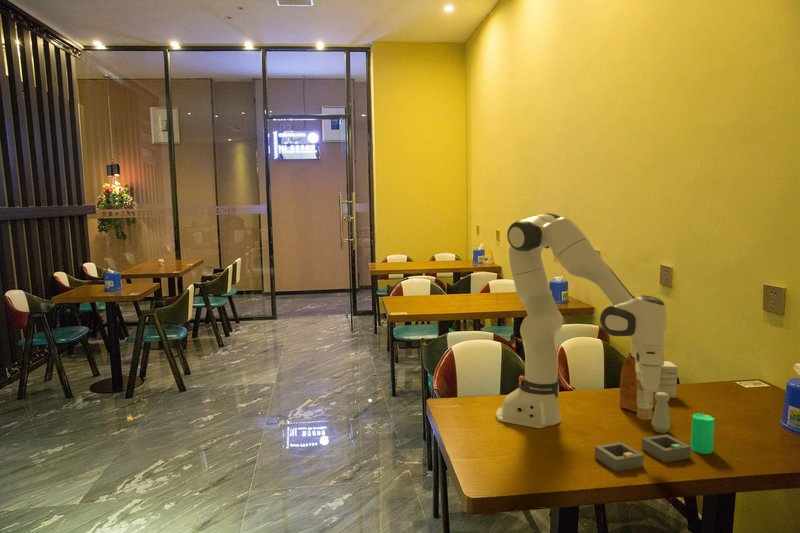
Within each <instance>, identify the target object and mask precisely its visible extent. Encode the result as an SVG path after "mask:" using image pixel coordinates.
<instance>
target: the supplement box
mask: <svg viewBox="0 0 800 533" xmlns="http://www.w3.org/2000/svg"><path fill="white" fill-rule="evenodd" d="M677 385H678V366H677V365H675V364H674V363H673V362H672V361H667V360H666V361H665V360H664V365H663V366H661V375H660V382H659V388H658V391H657V392H665V393H667V394H668V395H669V397H670V398H669V399H671V398H673V399H674V398H675V399H676V398H677Z"/></svg>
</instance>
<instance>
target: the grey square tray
mask: <svg viewBox="0 0 800 533" xmlns="http://www.w3.org/2000/svg"><path fill="white" fill-rule="evenodd" d="M641 450H642V451H644V452H645V453H646V454H649V455H651V456H653V457H654V458H656V459H658V460H659V461H661V462H663V463H671V462H674V461H675V462H676V461H681V460H685V459H687V460H688V459H691V453H692V452H691V450H692V449H691V445H689V444H688V443H685V442H684V441H681V440H679V439H678V438H675V437H673V436H671V435H670V434H666V433H664V434H660V435H656V436H655V435H654V436H649V437H648V436H646V437H642V438H641Z"/></svg>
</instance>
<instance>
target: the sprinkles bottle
mask: <svg viewBox="0 0 800 533" xmlns="http://www.w3.org/2000/svg"><path fill="white" fill-rule="evenodd" d="M653 409H654V408H653V392H651V395H650V401H644V400H643V388H642V385H641V383H640V373H639V372H638V373H637V412H636V417H637V418H638V419H641V420H652V418H653V415H654V410H653Z"/></svg>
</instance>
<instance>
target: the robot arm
mask: <svg viewBox="0 0 800 533" xmlns="http://www.w3.org/2000/svg"><path fill="white" fill-rule="evenodd" d="M506 235H507V236H506V238H507V241H508V243H509V246H510V247H509V249H508V256H509V257H508V259H509V265H510V272H511V275H512V278H513V282H514V287H515V290H516V291H515V292H516V294H517V297H518V299H519V300H520V301H521V303H522V305H523V307H524V309H525V311H526V314H527V315H526V316H525V317H524V318H523V320H522V322H521V324H520V328H519V333H520V336H521V338H522V345H523V351H524V358H525V360H524V362H525V363H524V365H525V366H524V369H525V370H524V375H519V377H518V388H516V389H515V390H513V391H512V392H510V393H509V394H507V395H506V396H505V397H504V400H503V402H502V406H500V407H499V408H497V410H496V412H495V417H496V420H498V421H499V422H503V423H508V424H513V425H519V426H525V427H529V428H530V427H531V428H537V429H542V428H545V427H550V426H551V427H552V426H555V425H558V424H559V423H561V422H562V417H561V413H560V408H559V399H558V397H559V394H560V383H559V380H558V369H559V368H558V366H559V357H558V355H557V351H556V343H555V342H556V336H557V335H558V334H559V333H560V332H561V330H562V327H563V321H564V318H563V315H562V312H561V311H560V310H559V307H558V305H557V303H556V300H555V299H554V296H553V294H552V291H551V289H550V285H549V282H548V278H547V274H546V271H545V268H544V262H543V260H542V259H543V258H542V251H543V250H544V249H549V248H550V249H551V251H552V252H553V253H554V255H555V257H556V259H557V260H558V262H559V264H561V266H562V267H563V269H565V270H566V271H567V272H568V274H570V275H572V276H574V277H578V278H581V279H584V280H588V281H590V282H592V283H594V284H595V285H596V286H598V287H599V289H600V290H601V291H602V292H603V294H604V295H605V297H606V298H607V299H608V301H609V302H610V303H611V304H612V305H608V306H607V307H605V308H604V309H603V310H602V311H601V313H600V316H599V323H600V326H601V328H602V330H603V331H604V332H605V333H606V334H607V335H609V336H611V337H630V338H631V348H630V350H631V351H630V353H631V356H632V357H634V358H635V362H636V366H635V370H636V373H638V372H639V373H640V383H641V385H642V388H643V400H644V401H650V395H651V392H657V391H658V388H659V382H660V375H661V366H663V365H664V361H665V348H666V346H665V345H666V344H665V343H666V342H665V341H666V340H665V333H666V329H667V328H666V327H667V308H666V304H665V303H664V301H663V300H661V299H660V298H658V297H654V296H651V295H645V294H644V295H642V294H641V295H638V296H634V295H633V294H631V292H630V291H629V290H628V288H627V287H626V286H625V285H624V283H623V282H622V281H621V279H620V278H619V277H618V276H617V275H616V273H614V271H613V270H612V269H611V268H610V266H609V265H608V264H607V263H606V262H605V261H604V259H603V258H602V257H601V256H600V255H599V253H598V252H597V250H596V249H595V248H594V246H593V245H592V243H591V242H590V239H588V238H587V236H586V235H585V234H584V232H583V231H582V230H581V229H580V228H579V226H578V225H577V224H576V223H575V222H574V221H573V220H572V219H570V218H568V217H562V216H560V215H558V214H556V213H548V212H547V213H544V214H535V215H532V216H530V217H526V218H524V219H518V220H516V221H515V222H513V223H511V224H510V226H509V227H508V229H507V234H506Z"/></svg>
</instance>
